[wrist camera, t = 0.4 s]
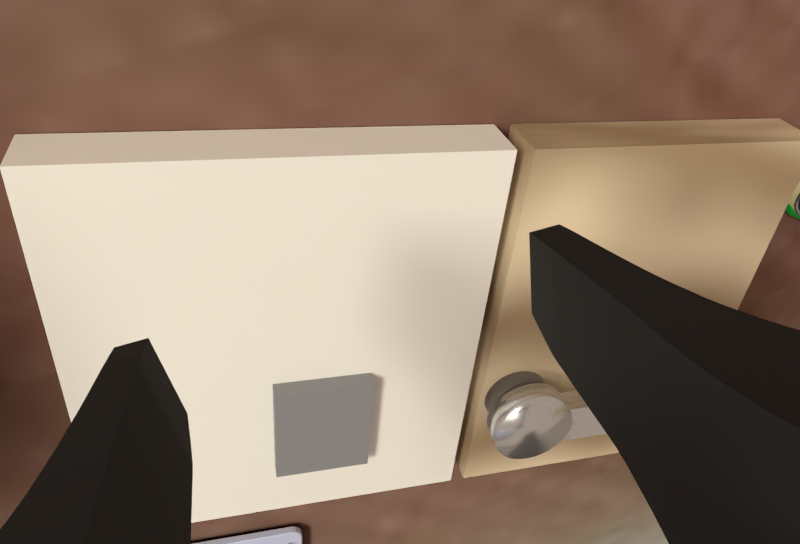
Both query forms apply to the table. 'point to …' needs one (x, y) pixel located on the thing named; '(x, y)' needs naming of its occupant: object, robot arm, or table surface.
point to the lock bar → (539, 420)
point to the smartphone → (795, 210)
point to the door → (274, 291)
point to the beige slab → (623, 237)
